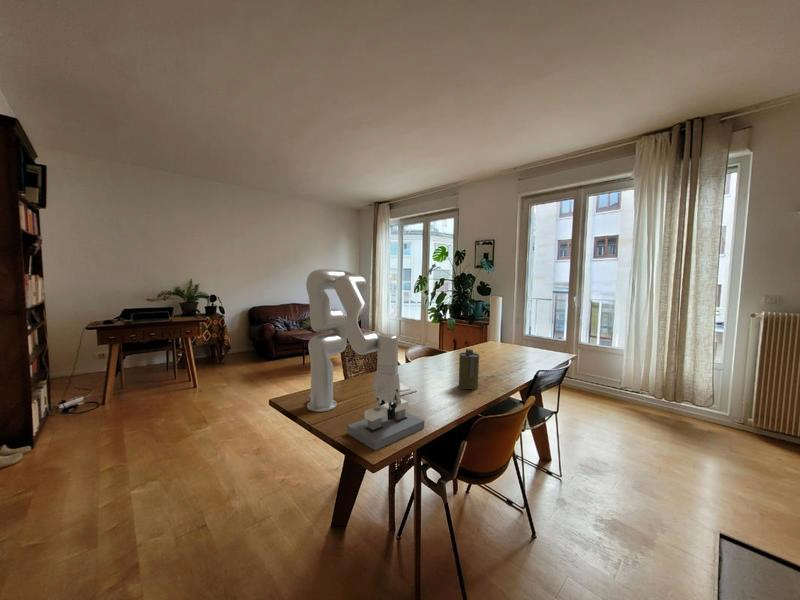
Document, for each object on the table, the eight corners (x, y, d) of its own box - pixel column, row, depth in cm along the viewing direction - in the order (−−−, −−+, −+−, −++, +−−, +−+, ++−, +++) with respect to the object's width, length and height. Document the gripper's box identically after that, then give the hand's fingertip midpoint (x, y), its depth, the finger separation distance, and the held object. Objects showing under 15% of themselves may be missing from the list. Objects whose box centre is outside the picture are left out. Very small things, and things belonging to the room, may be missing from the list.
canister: (456, 383, 176) (457, 347, 175) (475, 383, 177) (476, 347, 175) (461, 390, 165) (462, 352, 164) (481, 390, 166) (482, 352, 165)
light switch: (401, 379, 172) (416, 384, 162) (401, 387, 172) (417, 393, 162) (384, 383, 166) (399, 389, 156) (384, 391, 166) (399, 397, 156)
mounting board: (347, 433, 118) (347, 425, 118) (395, 414, 134) (395, 407, 134) (375, 450, 106) (375, 441, 106) (424, 428, 123) (424, 420, 123)
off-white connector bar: (364, 427, 115) (364, 410, 115) (400, 413, 128) (400, 397, 127) (371, 431, 112) (371, 413, 112) (407, 416, 125) (408, 400, 124)
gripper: (365, 365, 122) (365, 412, 123) (395, 375, 110) (395, 427, 111) (380, 362, 127) (380, 407, 128) (410, 371, 115) (410, 421, 116)
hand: (387, 416), depth 120 cm, fingers closed on off-white connector bar, 4 cm apart
